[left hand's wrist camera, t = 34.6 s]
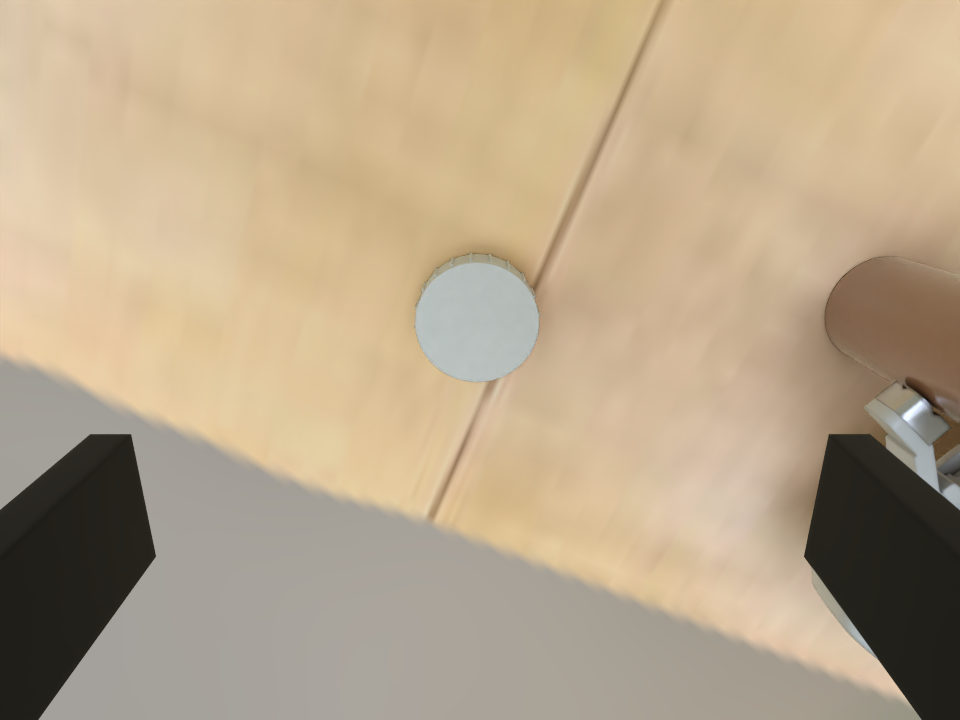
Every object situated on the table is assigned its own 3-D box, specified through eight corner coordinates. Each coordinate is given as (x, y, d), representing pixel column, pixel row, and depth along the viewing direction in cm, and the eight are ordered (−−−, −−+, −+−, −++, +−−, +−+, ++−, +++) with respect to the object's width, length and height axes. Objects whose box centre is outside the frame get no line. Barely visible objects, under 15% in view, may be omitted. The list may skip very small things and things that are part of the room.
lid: (401, 344, 29) (396, 358, 28) (441, 234, 28) (439, 241, 26) (510, 383, 30) (512, 400, 28) (555, 278, 29) (560, 288, 27)
